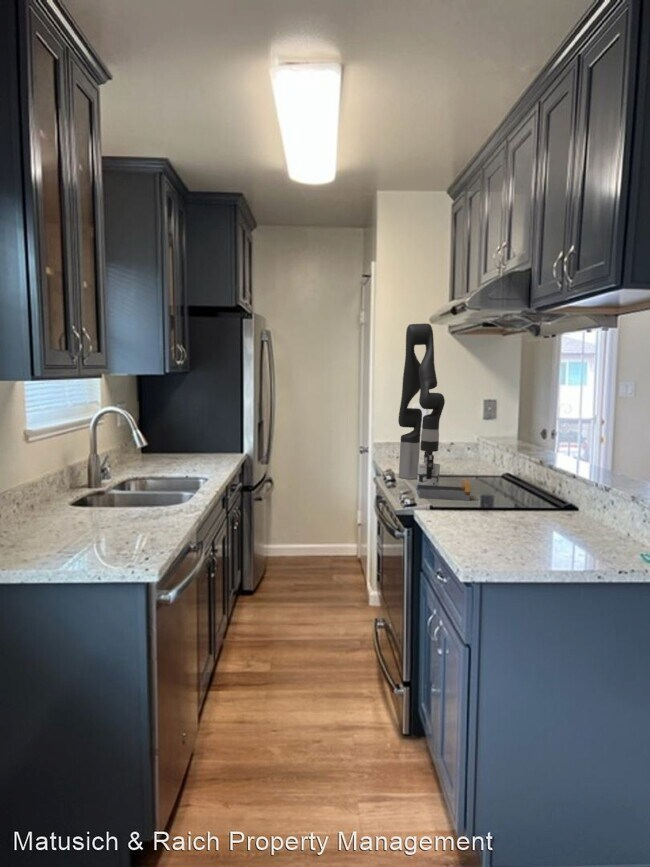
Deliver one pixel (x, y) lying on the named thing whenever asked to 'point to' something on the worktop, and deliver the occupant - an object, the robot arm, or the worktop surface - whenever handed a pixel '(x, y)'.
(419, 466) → the ink box
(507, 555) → the worktop surface
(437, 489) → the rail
